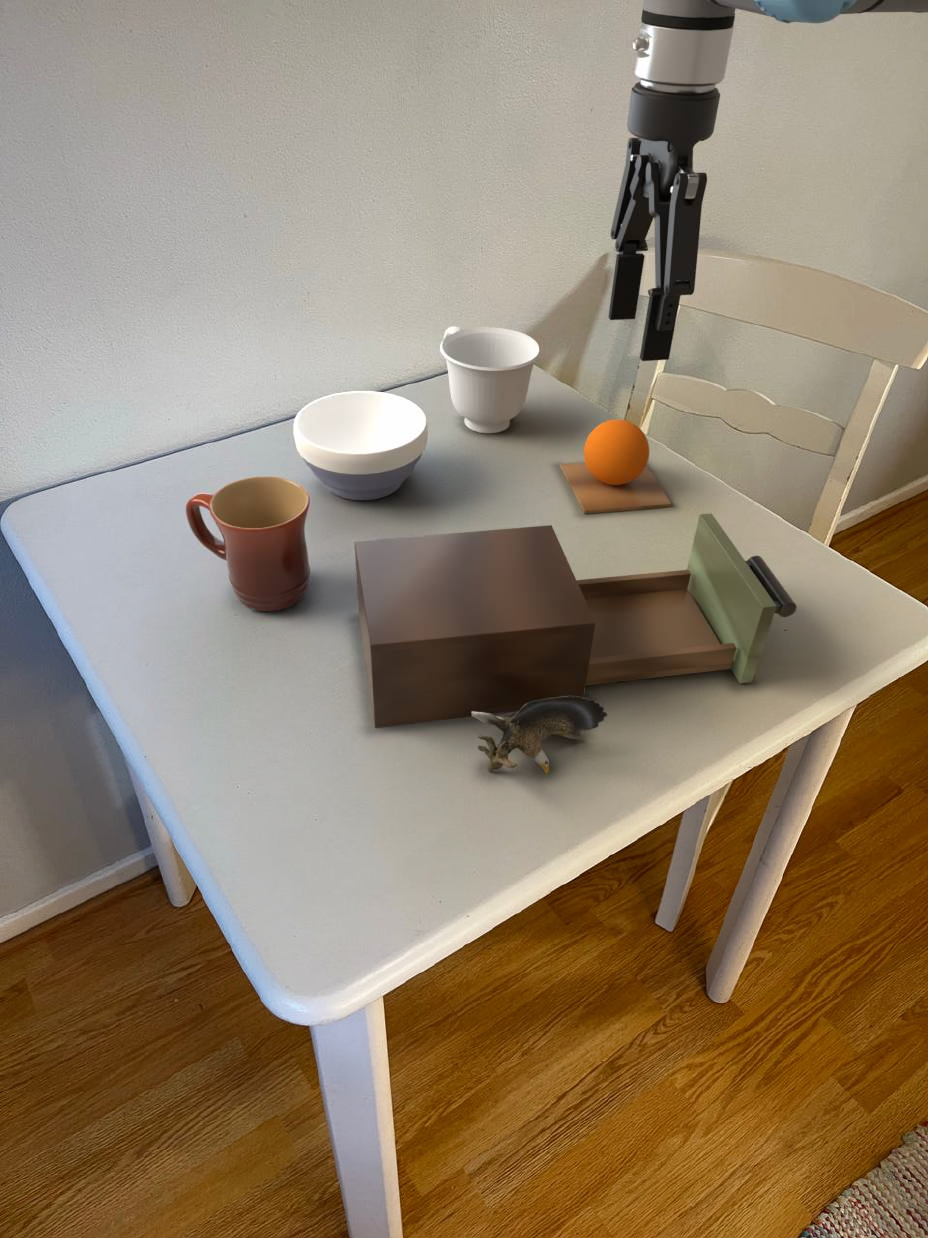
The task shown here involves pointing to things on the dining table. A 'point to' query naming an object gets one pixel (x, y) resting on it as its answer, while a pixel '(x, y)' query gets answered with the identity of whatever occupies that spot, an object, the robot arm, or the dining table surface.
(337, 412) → the bowl
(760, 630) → the drawer
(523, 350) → the teacup
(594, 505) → the coaster
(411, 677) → the cabinet
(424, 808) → the dining table surface
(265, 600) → the mug
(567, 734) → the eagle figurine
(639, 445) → the orange
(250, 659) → the dining table surface
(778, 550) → the dining table surface
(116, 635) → the dining table surface
